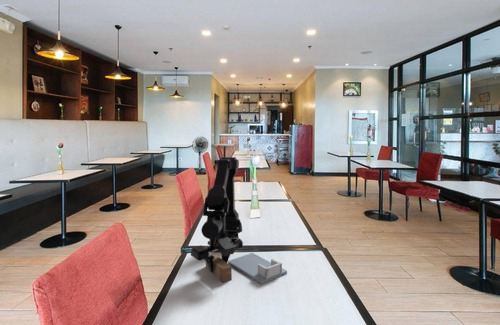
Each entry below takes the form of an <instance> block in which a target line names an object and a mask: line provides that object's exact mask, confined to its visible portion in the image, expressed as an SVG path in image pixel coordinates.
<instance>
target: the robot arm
mask: <svg viewBox="0 0 500 325" xmlns="http://www.w3.org/2000/svg"><path fill="white" fill-rule="evenodd" d="M239 161H240V160H239V159H237V157H236V156H235V157H234V156H233V157H232V156H222V157H220V158H219V159H216V173H215V178H214V182H213V185H212V186H213V187H211V188H210V189H209V190H208V192H207V195H206V197H205V199H204V206H203V212H202V216H204V217H207V218H206V221H205V222H204V224H203V225H202V226H201V234H202V236H203V237H204V238H206V239H208V240H209V241H207V245H208V246H207V247H205V246H203V245H197V246H194V247H192V248H191V250H190V256H191V257H192V258H194V259H196V261H203V260H204V261H205V264H206V263H207V265H208V267H209V269H210V270H209V269H208V270H209V271H210V272H211V273H212V274H213V259H214V258H215V257H214V256H212V253H214V252H217V251H218V252H219V253H220V254H221V259H223V260H224V261H225V262H226V263H228V261H229V260H230V257H231V255H234V254H235V252H236V250H238V249H241V248H243V246H244V241H243V240H242V239H241V238H240V237H239V234H240V233H243V225H242V222H241V219H240V217H239V212H237V209H236V204H235V203H236V200H235V199H236V198H235V176H236V174H237V173H238V171H239V170H238V169H240V168H239V167H240V162H239Z"/></svg>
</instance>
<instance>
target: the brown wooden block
mask: <svg viewBox="0 0 500 325" xmlns="http://www.w3.org/2000/svg"><path fill="white" fill-rule="evenodd" d="M212 256H214V257H215V258H214V259H213V273H212V275H214V276H215V277H216V278H217V279H218V280H219V281H220V282H221V283H226V282H229V281H233V280H232V278H233V277H232V276H233V275H232V272H233V271H232V268H233V267H232V266H231V265H230V264H228V262H227V263H226V262H225V261H224V260H223V259H222V257H220V256H219V255H218V254H217V253H215V252H212ZM205 268H207V270H209V271H210V269H209V267H208V265H207V263H206V262H205Z"/></svg>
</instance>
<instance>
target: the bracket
mask: <svg viewBox="0 0 500 325" xmlns="http://www.w3.org/2000/svg"><path fill="white" fill-rule="evenodd" d="M227 263H228V264H229V265H230V266H231V267H232V268H234V269H236V270H238V271H239V272H241V273H243V274H244V275H245V276H247V277H249V278H251V279H252V280H254V281H255V282H257V283H258V284H260V285H263V284H266V283H268V282H270V281H273V280H275V279H278V278H279V277H282V276H285V275H287V274H288V270H286V269H285V268H283V263H282V262H281V261H278V260H276V259H274V258H271V259H270V261H269V260H267V259H265V258H263V257H261V256H260V255H257V254H256V253H254V252H251V253H248V254H245V255H241V256H238V257H236V258H233V259H229V260H228V262H227Z"/></svg>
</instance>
